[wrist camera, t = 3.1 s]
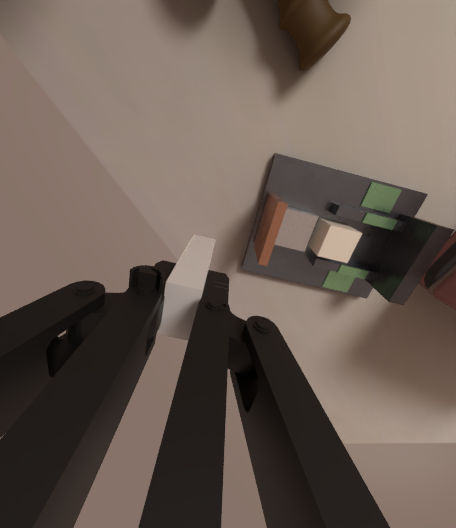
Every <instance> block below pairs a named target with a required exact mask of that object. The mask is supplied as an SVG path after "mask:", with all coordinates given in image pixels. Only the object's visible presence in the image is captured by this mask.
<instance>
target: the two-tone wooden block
mask: <svg viewBox="0 0 456 528" xmlns="http://www.w3.org/2000/svg"><path fill="white" fill-rule="evenodd" d="M287 206H288V204H287V203H286V202H285V201H284V200H282V199H281V198H280V197H279V196H278V195H276V194H272V193H269V194H268V197H267V201H266V204H265V207H264V211H263V214H262V217H261V221H260V224H259V227H258V230H257V234H256V237H255V240H254V248H255V252H256V256H257V261H258V264H260V265H264V266H267V264H268V262H269V259H270V256H271V253H272V250H273V247H274V245H278V246H282V247H286V248H291V249H295V250H299V251H303V252H305V249H306V247H307V244H308V242H309V240H310V237H311V235H312V232H313V230H314V227H315V225H316V222H317V220H318V217H319V216H317V215H316V214H314V213H311V212H307V211H303V210H299V209H295V208H291V207H287Z"/></svg>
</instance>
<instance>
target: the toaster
mask: <svg viewBox="0 0 456 528" xmlns="http://www.w3.org/2000/svg"><path fill="white" fill-rule="evenodd" d="M420 283H421V284H422V285H423V286H424V288H426V289H427V290H428V291H429V292H430V293H431V294H433V295H434V297H435V298H437V299H439V300H440V301H442V302H444V303H445V304H447V305H449V306H451V307H452V308H454V309H456V232H455V233H454V234H453V235H452V236H451V237H450V238H449V239H448V240H447V242H446V243H445V244H444V246H443V247H442V249H441V250H440V252H439V253H438V255H437V256H436V258H435V259H434V261H433V262H432V264H431V265H430V267H429V268H428V270H427V271H426V273H425V274H424V276H423V277H422V278H421V280H420Z"/></svg>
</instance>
